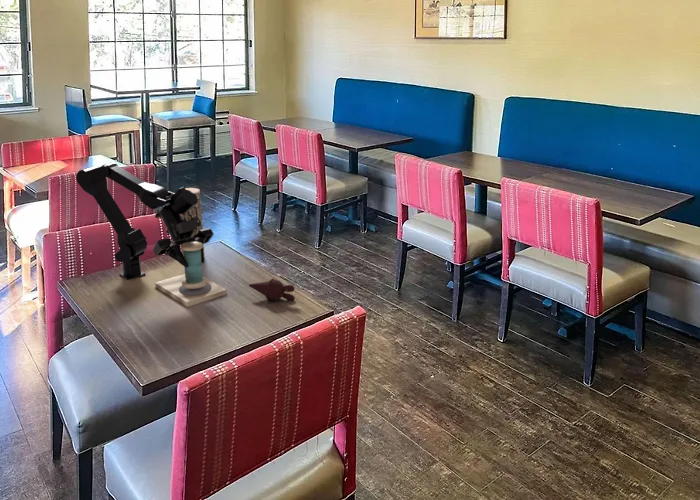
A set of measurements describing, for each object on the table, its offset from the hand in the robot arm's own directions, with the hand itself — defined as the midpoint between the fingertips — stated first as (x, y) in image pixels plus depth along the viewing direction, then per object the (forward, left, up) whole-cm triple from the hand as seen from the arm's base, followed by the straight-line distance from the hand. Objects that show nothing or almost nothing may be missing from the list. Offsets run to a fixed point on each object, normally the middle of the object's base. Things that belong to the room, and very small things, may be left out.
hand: (195, 264), depth 200 cm
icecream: (+18, +15, -10) cm, 26 cm away
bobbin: (-2, 0, -7) cm, 7 cm away
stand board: (-4, 0, -10) cm, 11 cm away
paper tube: (-28, +16, -10) cm, 34 cm away
